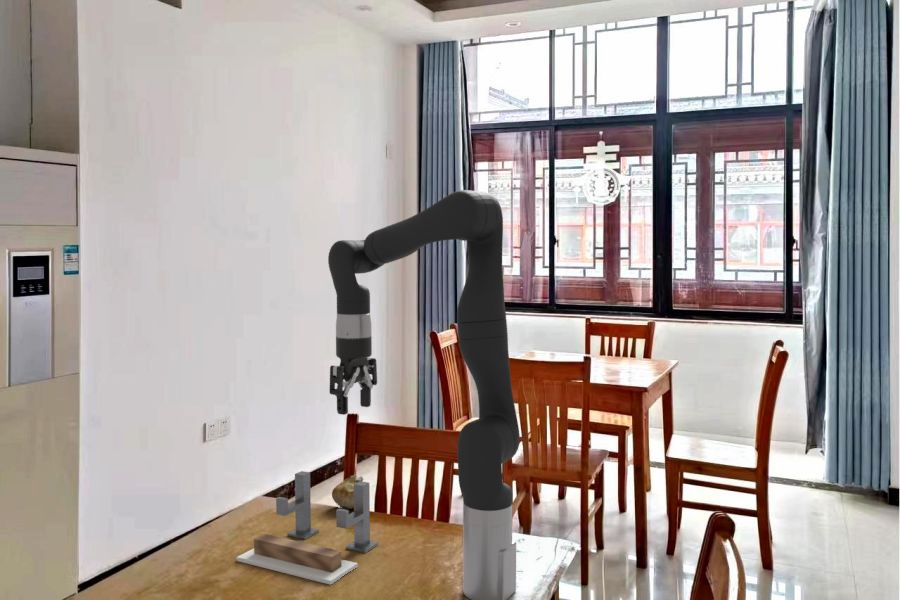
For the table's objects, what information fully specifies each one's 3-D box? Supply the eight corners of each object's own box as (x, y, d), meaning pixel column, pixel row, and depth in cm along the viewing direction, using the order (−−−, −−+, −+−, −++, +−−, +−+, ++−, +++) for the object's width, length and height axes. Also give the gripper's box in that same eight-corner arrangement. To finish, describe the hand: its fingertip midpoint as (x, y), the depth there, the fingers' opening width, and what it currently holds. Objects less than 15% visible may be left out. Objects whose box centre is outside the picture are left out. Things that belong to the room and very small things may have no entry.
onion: (333, 502, 189) (333, 471, 189) (365, 502, 190) (364, 471, 189) (330, 513, 182) (330, 481, 181) (363, 512, 182) (363, 480, 182)
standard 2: (378, 544, 162) (377, 481, 161) (351, 562, 153) (350, 495, 152) (359, 540, 164) (358, 478, 163) (331, 557, 155) (331, 491, 154)
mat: (357, 567, 151) (357, 563, 151) (331, 584, 143) (331, 580, 143) (266, 545, 162) (266, 541, 162) (236, 560, 154) (236, 557, 154)
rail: (341, 566, 149) (341, 551, 149) (331, 572, 146) (331, 557, 146) (264, 548, 158) (264, 533, 158) (254, 553, 155) (253, 538, 155)
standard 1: (319, 532, 169) (318, 471, 168) (290, 547, 160) (289, 484, 160) (301, 528, 172) (300, 468, 171) (272, 543, 163) (271, 480, 162)
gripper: (348, 339, 149) (349, 418, 151) (386, 332, 162) (387, 405, 163) (318, 337, 153) (319, 415, 154) (358, 330, 165) (358, 402, 167)
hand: (354, 410), depth 159 cm, fingers open, 8 cm apart
